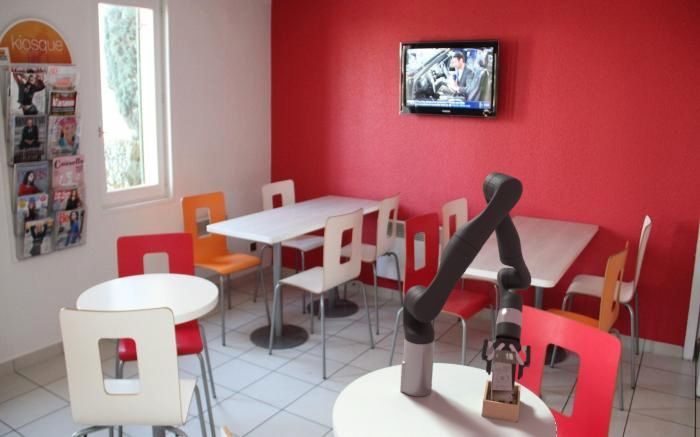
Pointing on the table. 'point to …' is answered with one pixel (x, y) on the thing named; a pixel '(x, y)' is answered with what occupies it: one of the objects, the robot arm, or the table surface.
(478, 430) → the table surface
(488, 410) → the open box
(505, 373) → the coffee box
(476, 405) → the table surface
